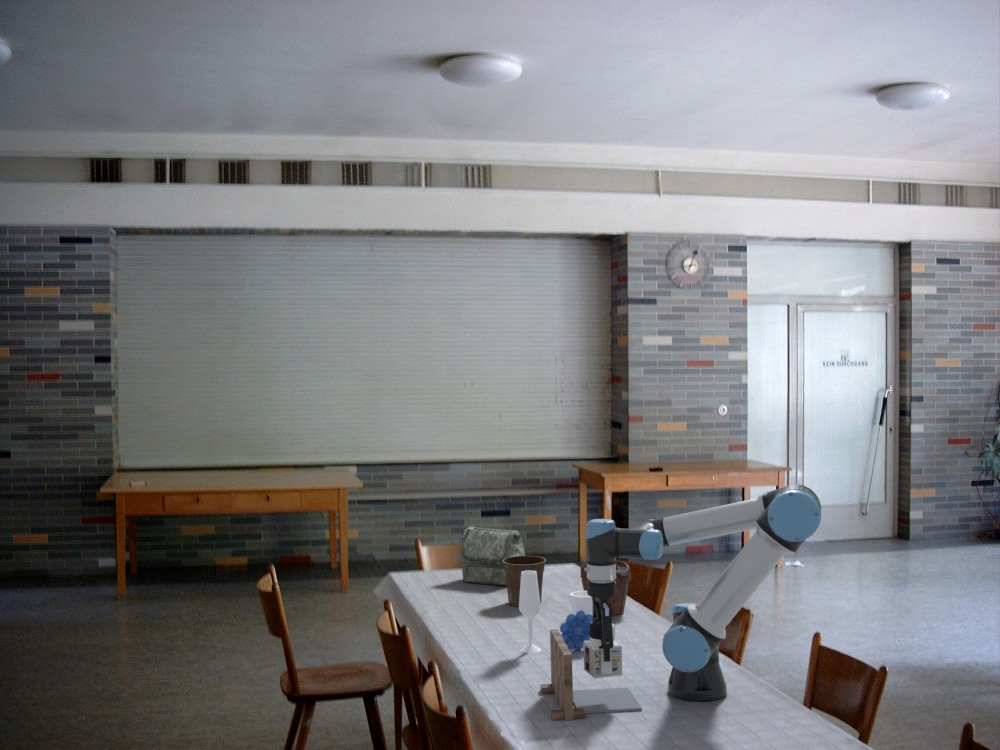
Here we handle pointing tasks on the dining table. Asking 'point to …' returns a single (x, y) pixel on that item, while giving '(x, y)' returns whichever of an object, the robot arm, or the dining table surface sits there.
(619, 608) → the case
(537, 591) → the champagne flute
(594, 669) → the container
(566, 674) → the screen
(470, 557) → the lunch bag
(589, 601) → the foam cup
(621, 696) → the mat
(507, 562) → the plant pot
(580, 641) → the grapes
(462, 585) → the dining table surface
